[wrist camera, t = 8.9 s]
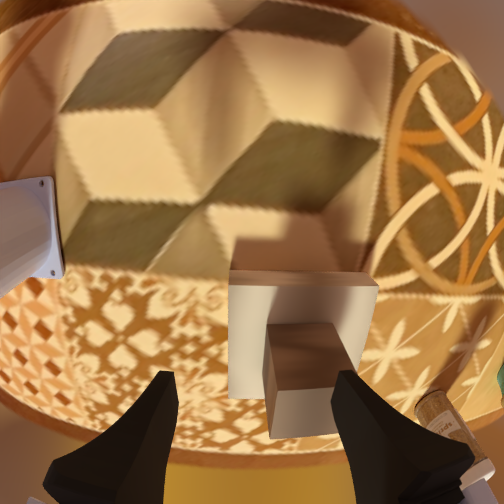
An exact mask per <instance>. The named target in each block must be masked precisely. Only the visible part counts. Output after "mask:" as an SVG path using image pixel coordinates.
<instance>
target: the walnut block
mask: <svg viewBox="0 0 504 504" xmlns="http://www.w3.org/2000/svg"><path fill="white" fill-rule="evenodd" d="M341 370H353V371H354V372H355V373H356V374H357V372H356V370H355V368H354V366H353V364H352V362H351V359H350V357H349V355H348V353H347V351H346V349H345V347H344V345H343V343H342V341H341V339H340V337H339V335H338V333H337V331H336V329H335V327H334V325H333V323H316V324H266V335H265V347H264V358H263V368H262V378H263V387H264V395H265V404H266V412H267V420H268V429H269V437H270V439H285V438H298V437H309V436H319V435H327V434H335V433H338V430H337V427H336V424H335V421H334V417H333V413H332V407H331V402H330V401H331V397H332V394H333V391H334V387H335V384H336V380H337V377H338V373H339V371H341ZM357 375H358V374H357Z"/></svg>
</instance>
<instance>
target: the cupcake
mask: <svg viewBox="0 0 504 504" xmlns="http://www.w3.org/2000/svg"><path fill="white" fill-rule="evenodd" d="M497 380H498V383H499V385H500V388H501V392H502V399H501V405H502V407H503V408H504V365H503V366H502V367H501V369H500V371H499V373H498V376H497Z"/></svg>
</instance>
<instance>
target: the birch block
mask: <svg viewBox="0 0 504 504" xmlns="http://www.w3.org/2000/svg"><path fill="white" fill-rule="evenodd" d="M378 290H379V285H378V284H377V283H376V282H375V281H374V280H373V279H372V278H371V277H370V276H369V275H368V274H367V273H366V272H314V271H258V270H230V272H229V285H228V399H265V395H264V387H263V378H262V368H263V358H264V347H265V335H266V324H316V323H333V325H334V327H335V329H336V331H337V333H338V335H339V337H340V339H341V341H342V343H343V345H344V347H345V349H346V351H347V353H348V355H349V357H350V359H351V362H352V364H353V366H354V368H355V370H356V372H357V370H358V367H359V363H360V360H361V357H362V353H363V350H364V346H365V343H366V339H367V335H368V331H369V328H370V324H371V320H372V316H373V312H374V307H375V303H376V299H377V294H378Z"/></svg>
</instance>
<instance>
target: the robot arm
mask: <svg viewBox="0 0 504 504" xmlns="http://www.w3.org/2000/svg"><path fill="white" fill-rule="evenodd" d="M42 180H43V182H44V186H43V185H42ZM53 270H54V271H55V274H54V273H53ZM64 274H65V273H64V267H63V261H62V255H61V249H60V242H59V234H58V226H57V218H56V207H55V195H54V181H53V178H52V177H51V176H43V177H35V178H28V179H21V180H15V181H8V182H2V183H0V299H1V298H2V297H3V296H4V295H6V294H7V293H8V292H10V291H11V290H12V289H13V288H15V287H16V286H17V285H19V284H20V283H21V282H23V281H24V280H25V279H27V278H28V277H38V278H51V279H61V278H62V277H63V276H64ZM330 402H331V407H332V413H333V417H334V421H335V424H336V427H337V430H338V433H339V435H340V438H341V441H342V444H343V446H344V449H345V452H346V455H347V458H348V461H349V465H350V469H351V474H352V479H353V484H354V490H355V496H356V503H357V504H498V502H497V500H496V498H495V496H494V495H493V493H492V491H491V489H490V487H489V485H488V484H487V482H486V480H485V478H482V479H480V480H478V481H477V482H475V483H473V484H471V485H469V486H468V487H466V488H464V489H463V490H462V491H461V489H460V487H459V486H461V485H462V482H461V480H460V477H461V476H462V475H463V474H464V473H465V472H466V471H467V470H468V469H469V468H470V467H471V466H472V464H473V463H474V461H475V455H474V454H473V452H472V450H471V449H470V447H469V445H468V444H467V443H463V442H460V441H456V440H453V439H449V438H447V437H444V436H442V435H439V434H437V433H434V432H432V431H430V430H428V429H426V428H424V427H422V426H420V425H418V424H417V423H415V422H413V421H412V420H410V419H409V418H407V417H405V416H404V415H402V414H401V413H400V412H398V411H397V410H396V409H394V408H393V407H392V406H391V405H389V404H388V403H387V402H386V401H385V400H383V399H382V398H381V397H380V396H379V395H378V394H377V393H376V392H374V391H373V390H372V389H371V388H370V387H369V386H368V385H367V384H366V383H365V382H364V381H363V380H362V379H361V378H360V377H359V376H358V375H357V374H356V373H355V372H354V371H353V370H341V371H339V373H338V377H337V380H336V384H335V387H334V391H333V394H332V397H331V401H330ZM178 406H179V401H178V396H177V390H176V383H175V377H174V372H171V371H159V372H158V373H157V374H156V376H155V377H154V379H153V380H152V381H151V383H150V384H149V385H148V387H147V388H146V389H145V391H144V392H143V393H142V394H141V396H140V397H139V398H138V399H137V400H136V402H135V403H134V404H133V405H132V406H131V407H130V408H129V409H128V410H127V411H126V412H125V414H124V415H123V416H122V417H121V418H119V419H118V420H117V421H116V422H115V423H114V424H113V425H112V426H111V427H109V428H108V429H107V430H106V431H104V432H103V433H102V434H100V435H99V436H98V437H96V438H95V439H93V440H92V441H90V442H89V443H87V444H85V445H84V446H82V447H80V448H79V449H77V450H75V451H73V452H71V453H69V454H67V455H64V456H62V457H60V458H58V459H55V460H53V462H52V464H51V465H50V467H49V469H48V472H47V474H46V477H45V479H44V482H43V487H44V489H45V490H46V491H47V492H48V493H49V494H50V495H51V496H52V497H53V498H54V499H55V500H56V501H57V502H58V503H59V504H163V497H164V484H165V473H166V467H167V461H168V457H169V453H170V448H171V444H172V440H173V436H174V432H175V427H176V423H177V415H178ZM27 504H46V503H44V502H42V501H39V500H37V499H35V498H33V497H29V499H28V502H27Z"/></svg>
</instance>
